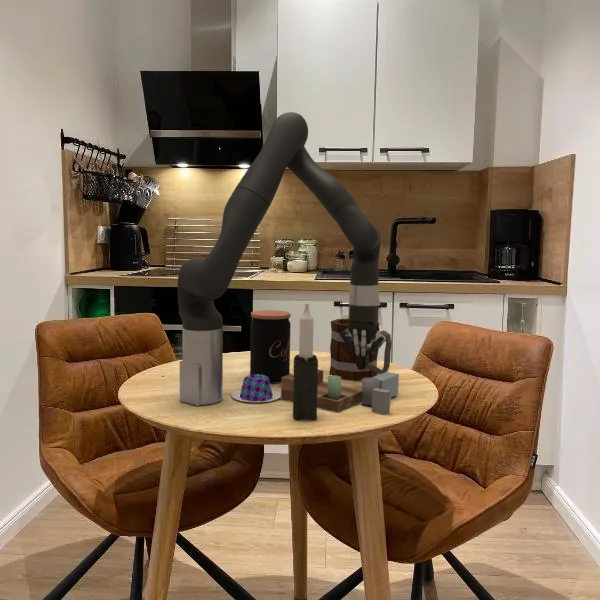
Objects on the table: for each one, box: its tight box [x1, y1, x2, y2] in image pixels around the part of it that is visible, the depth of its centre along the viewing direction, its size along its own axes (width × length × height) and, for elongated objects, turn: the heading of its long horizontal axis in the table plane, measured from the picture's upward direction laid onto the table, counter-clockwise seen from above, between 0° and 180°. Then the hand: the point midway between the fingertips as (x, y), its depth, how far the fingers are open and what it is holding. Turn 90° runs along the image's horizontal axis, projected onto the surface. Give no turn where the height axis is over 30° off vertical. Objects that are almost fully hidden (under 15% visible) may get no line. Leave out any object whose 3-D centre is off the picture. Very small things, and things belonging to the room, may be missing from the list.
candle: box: [292, 302, 319, 421], centre depth 128 cm, size 5×5×25 cm
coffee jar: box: [249, 309, 292, 384], centre depth 159 cm, size 11×11×18 cm
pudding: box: [231, 374, 281, 403], centre depth 143 cm, size 12×12×5 cm
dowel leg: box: [327, 375, 342, 400], centre depth 136 cm, size 3×3×7 cm
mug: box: [329, 318, 393, 382], centre depth 163 cm, size 20×14×15 cm
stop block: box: [371, 388, 391, 415], centre depth 133 cm, size 2×4×5 cm, turn 54°
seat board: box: [280, 369, 362, 413], centre depth 141 cm, size 12×16×5 cm
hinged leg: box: [360, 371, 400, 406], centre depth 142 cm, size 13×4×6 cm, turn 144°
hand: (362, 369), depth 152 cm, fingers closed
